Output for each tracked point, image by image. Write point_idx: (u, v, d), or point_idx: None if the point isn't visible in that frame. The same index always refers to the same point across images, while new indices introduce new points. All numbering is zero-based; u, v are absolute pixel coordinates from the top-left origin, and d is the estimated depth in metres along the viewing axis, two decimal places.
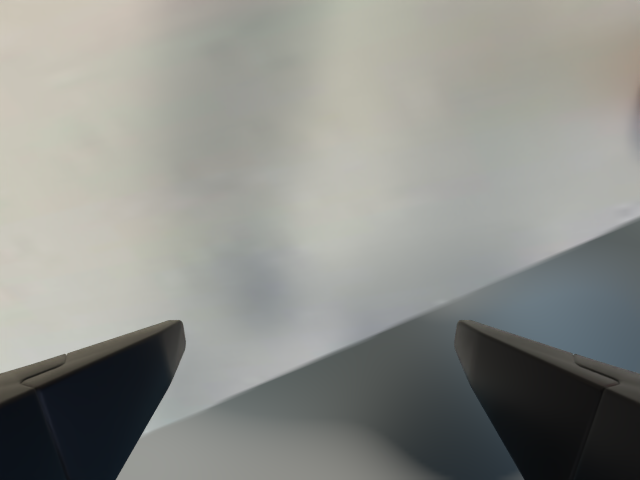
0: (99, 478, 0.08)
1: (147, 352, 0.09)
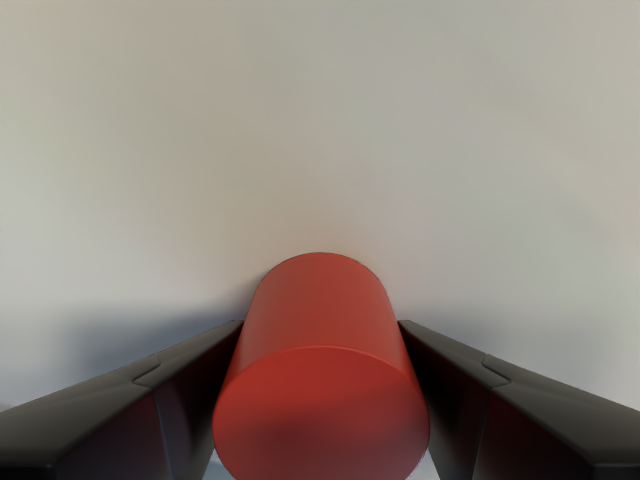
0: (192, 478, 0.08)
1: (224, 352, 0.09)
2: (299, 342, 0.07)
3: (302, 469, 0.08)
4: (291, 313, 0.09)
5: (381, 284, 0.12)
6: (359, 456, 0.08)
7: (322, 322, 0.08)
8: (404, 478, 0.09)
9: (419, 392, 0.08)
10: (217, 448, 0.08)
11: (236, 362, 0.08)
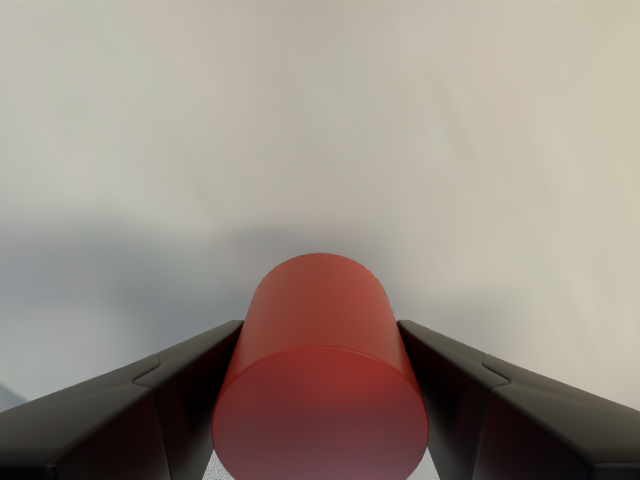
0: (192, 478, 0.08)
1: (224, 352, 0.09)
2: (299, 343, 0.07)
3: (301, 470, 0.08)
4: (291, 313, 0.09)
5: (380, 285, 0.12)
6: (358, 458, 0.08)
7: (321, 324, 0.08)
8: (403, 479, 0.09)
9: (418, 393, 0.08)
10: (216, 449, 0.08)
11: (235, 363, 0.08)
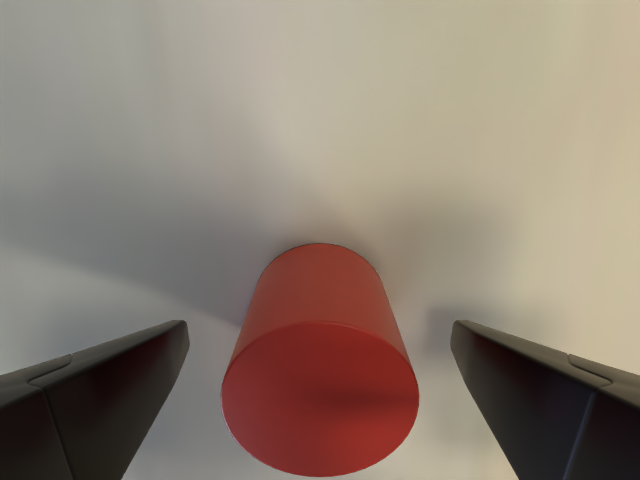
0: (105, 478, 0.08)
1: (152, 352, 0.09)
2: (300, 319, 0.08)
3: (303, 437, 0.09)
4: (293, 295, 0.09)
5: (376, 273, 0.13)
6: (355, 425, 0.09)
7: (321, 303, 0.09)
8: (396, 446, 0.09)
9: (408, 365, 0.08)
10: (225, 417, 0.09)
11: (243, 339, 0.09)
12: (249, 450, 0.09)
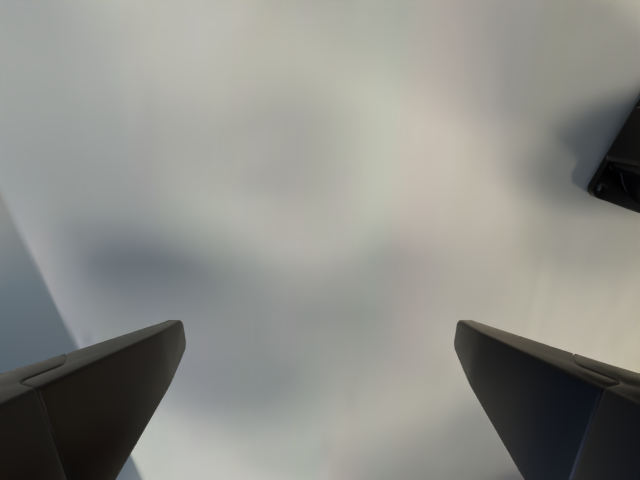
0: (99, 479, 0.08)
1: (147, 352, 0.09)
2: None
3: None
4: None
5: None
6: None
7: None
8: None
9: None
10: None
11: None
12: None
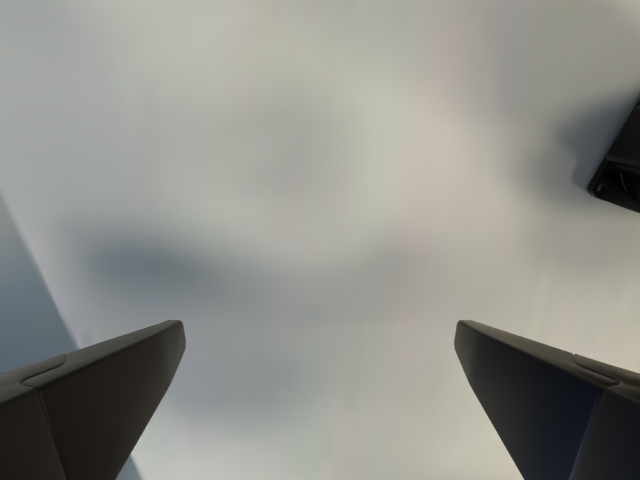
0: (99, 479, 0.08)
1: (147, 352, 0.09)
2: None
3: None
4: None
5: None
6: None
7: None
8: None
9: None
10: None
11: None
12: None
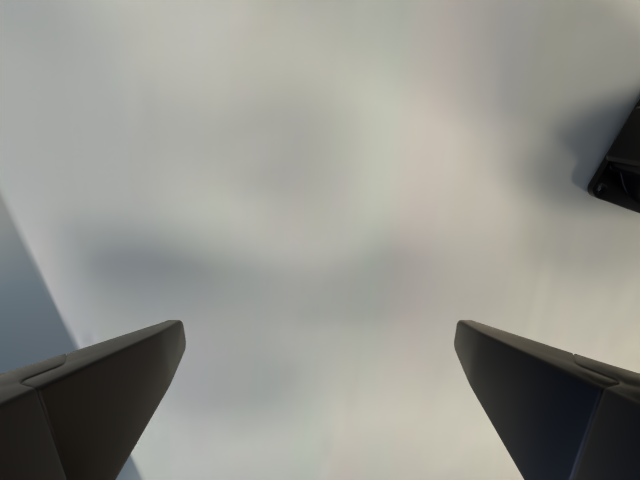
0: (99, 479, 0.08)
1: (147, 352, 0.09)
2: None
3: None
4: None
5: None
6: None
7: None
8: None
9: None
10: None
11: None
12: None
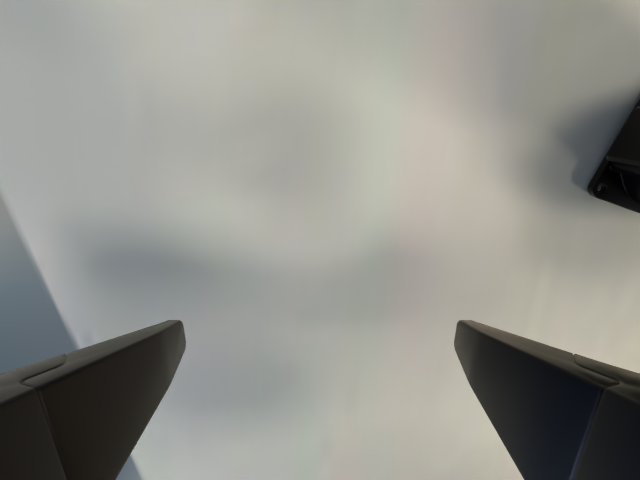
0: (99, 479, 0.08)
1: (147, 352, 0.09)
2: None
3: None
4: None
5: None
6: None
7: None
8: None
9: None
10: None
11: None
12: None
